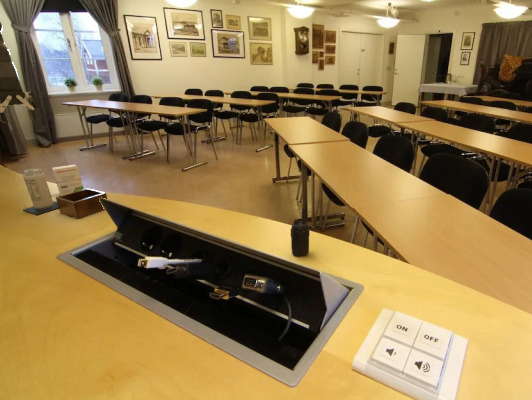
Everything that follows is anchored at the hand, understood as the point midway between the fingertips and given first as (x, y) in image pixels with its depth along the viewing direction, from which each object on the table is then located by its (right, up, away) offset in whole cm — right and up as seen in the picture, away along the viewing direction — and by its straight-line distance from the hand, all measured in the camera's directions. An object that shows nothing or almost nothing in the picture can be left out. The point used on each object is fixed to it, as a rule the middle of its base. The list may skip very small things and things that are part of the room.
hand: (19, 121), depth 121 cm
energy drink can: (+6, -33, +4) cm, 34 cm away
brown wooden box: (+23, -34, +2) cm, 41 cm away
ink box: (+4, -27, +20) cm, 34 cm away
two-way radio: (+108, -46, -26) cm, 121 cm away
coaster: (+6, -33, +4) cm, 34 cm away
